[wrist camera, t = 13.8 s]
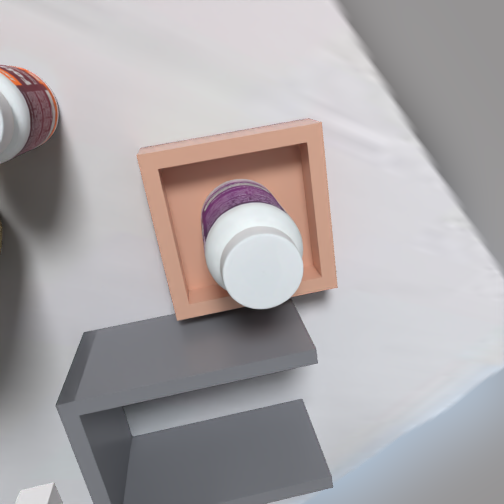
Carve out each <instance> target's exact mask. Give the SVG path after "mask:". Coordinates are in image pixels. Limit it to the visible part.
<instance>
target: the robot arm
mask: <svg viewBox="0 0 504 504" xmlns="http://www.w3.org/2000/svg"><path fill="white" fill-rule="evenodd" d="M15 504H63V502H62V500H61V497H60V495H59V493H58V490H57V488H56V486H55V483H54V482H53V483H49V484H45V485H41V486H36V487H32V488H28V489H24V490H20V493H19V495H18V498H17V500H16V503H15Z"/></svg>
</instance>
